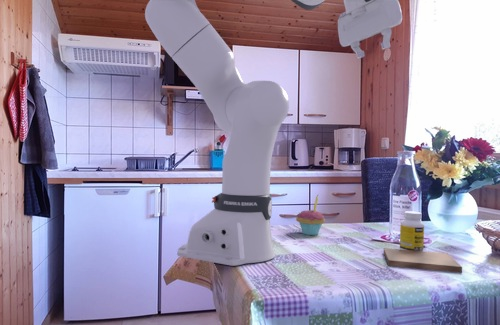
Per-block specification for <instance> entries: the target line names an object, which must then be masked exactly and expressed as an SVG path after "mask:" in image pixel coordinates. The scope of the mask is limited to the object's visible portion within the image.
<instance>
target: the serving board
mask: <svg viewBox="0 0 500 325" xmlns="http://www.w3.org/2000/svg"><path fill="white" fill-rule="evenodd" d="M383 255H384V258H385V261H386V263H387V265H388V266H389V267H399V268H409V269H419V270H430V271H439V272H452V273H463V266H462V265H461V264H460V263H458V261H456V260H455V258H453V257H452V256H451V255H450V254H449V253H448V252H446V253H445V252H437V251H435V252H434V251H426V250H425V251H424V250H423V251H413V250H401V249H400V248H399V249H398V248H387V247H384V248H383Z"/></svg>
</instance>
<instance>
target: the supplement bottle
mask: <svg viewBox="0 0 500 325" xmlns="http://www.w3.org/2000/svg"><path fill="white" fill-rule="evenodd" d="M422 215H423V214H422V212H419V211H413V210H412V211H410V210H409V211H407V210H406V211H404V212H403V217H404V219H403V220H401V221H400V231H399V233H400V234H399V249H401V250H413V251H424V241H425V235H424V234H425V224H424V222H423V221H422Z"/></svg>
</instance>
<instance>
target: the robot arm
mask: <svg viewBox="0 0 500 325" xmlns="http://www.w3.org/2000/svg"><path fill="white" fill-rule="evenodd" d="M290 1H291V2H292V3H294V5H297V6H298V7H299V8H301V9H304V10H308V11H312V10H315V9H317V8H318V7H319V6H321V4H323V3H324V2H325V1H326V0H290ZM343 4H344V8H345V11H344V12H342V13H340V14H339V17H338V19H337V33H338V38H339V39H338V40H339V44H340V45H341V47H344V48H345V47H348V46H350V48H351V49H352V51H353V52H354V53H355V56H356V58H357V59H362V58H364V57H365V56H366V55H365V51H364V50H362V49H361V47H360V45H361V44H360V42H361V41H363V40H366V39H369V38H370V37H373V36H376V35H377V34H381V35H382V36H383V37H382V42H380V46H381V50H386V49H390V48H391V46H392V45H391V41H390V40H391V38H392V34H393V33H392V28H395V27H396V26H399V25H401V23H402V20H403V14H402V9H401V5H400V2H399V0H343ZM144 12H145V13H144V17H145V21H146V23H147V25H148V26H149V28H150V30H151V31H152V33H153V34H154V36H155V38H156V39H157V41H158V42H159V44H160V45H161V47H162V48H163V49H164V51H165V52H166V53H167V54H168V55H169V56H170V58H171V59H172V60H173V61H174V62H175V64H177V66H178V67H179V68H180V69H181V71H182V72H183V73H184V74H185V76H186V77H187V78H188V79H189V80H190V82H191V83H192V84H193V85H194V86H195V88H196V89H197V91H198V93H199V94H200V96H201V97H202V99H203V101H204V102H205V104H206V106H207V107H208V109H209V111H210V112H211V113H212V115H213V119H214V122H215V125H216V126H217V127H218V128H219V129H220V130H222V132H225V133H228V134H230V135H229V136H230V137H229V141H228V145H227V148H226V152H225V154H224V155H223V157H222V158H223V159H222V173H221V174H222V178H221V179H222V180H221V184H222V185H221V192H220V193H219V194H217V195H215V196H214V197H213V196H212V197H211V199H212V200H211V203H213V207H214V208H213V209H212V210H211V211H209V212H208V213H207V214H206V215H205V216H203V217H201V218H200V219H199V220H197V221H196V222H195V223H194V224H193V225H192V226H191V227H190V230H189V231H188V232H189V233H188V238H187V242H186V243H184V244H182V245H181V246H180V247H178V249H177V254H176V255H177V257H179V258H181V257H182V258H187V259H192V260H193V259H194V260H197V261H204V262H209V263H215V264H221V265H226V266H234V267H235V266H241V265H244V264H253V263H262V262H267V261H271V260H272V259H274V258H275V257H276V252H275V248H274V243H273V237H272V228H271V218H272V216H273V215H272V212H273V200H272V194H271V193H270V192H271V191H270V190H271V188H270V187H271V169H272V168H271V164H272V156H273V153H274V148H275V145H276V144H275V143H276V141H277V136H278V134H279V130H280V128H281V125H282V123H283V122H284V121H285V119H286V117H287V116H288V113H289V112H290V111H289V109H290V100H289V97H288V93H287V92H286V91H285V89H284V88H283V86H281V85H280V84H278V83H277V82H275V81H272V80H253V81H250V82H248V83H245V81H243V79H242V77H241V74H240V72H239V70H238V67H237V65H236V60H235V55H234V53H233V51H232V49H231V48H230V47H229V45H228V44H227V43H226V41H224V39H223V38H222V37H221V35H220V34H219V33H218V31H216V29H215V27H213V26H212V24H211V23H210V21H209V20H208V19H207V18H206V16H205V15H204V14H203V13H201V11H200V8H199V7H198V5H197V2H196V0H149V1H148V2H147V4H146V7H145V9H144Z"/></svg>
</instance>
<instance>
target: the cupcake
mask: <svg viewBox="0 0 500 325" xmlns="http://www.w3.org/2000/svg"><path fill="white" fill-rule="evenodd" d="M318 200H319V194H317V195H316V196H315V201H314V207H313V209H310V210H309V209H308V210H302V211H301V212H299V213H298V214H297V215H296V219H295V221H297V222H298V223H299V225H300V229H301V232H302V234H303V235H307V236H317V235H318V234H319V232H320V229H321V227H322V224H325V222H326V221H325V220H326V219H325V218H326V217H325V215H324V214H322V213H321V212H319V211H318V210H317V206H318V202H319V201H318Z"/></svg>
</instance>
